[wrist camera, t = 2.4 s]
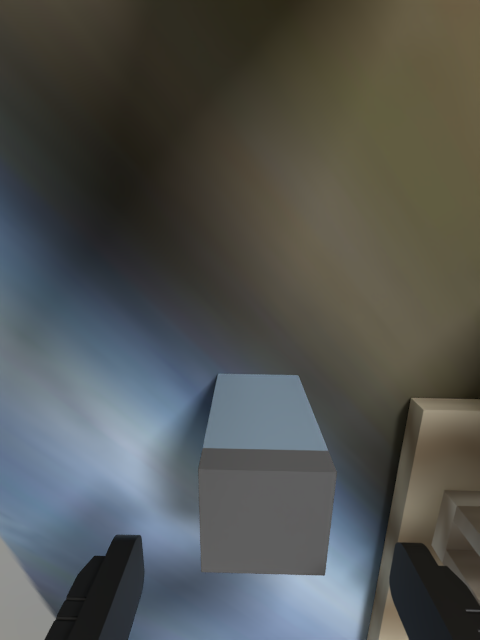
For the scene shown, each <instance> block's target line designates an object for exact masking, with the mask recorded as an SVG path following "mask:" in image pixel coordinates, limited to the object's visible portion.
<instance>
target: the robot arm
mask: <svg viewBox="0 0 480 640" xmlns="http://www.w3.org/2000/svg"><path fill="white" fill-rule="evenodd" d="M143 583H144V560H143V549H142V538H141V536H140V535H116V536H115V537H114V539H113V540H112V542H111V545H110V547H109V549H108V551H107V553H106V556H94V557H93V558H92V559H91V560H90V561H89V563H88V564H87V565H86V566H85V567H84V568H83V569H82V570H81V572H80V573H79V574H78V575H77V577H76V579H75V581H74V583H73V585H72V587H71V589H70V591H69V593H68V595H67V598H66V601H64V603H63V605H62V607H61V609H60V611H59V613H58V615H57V618H56V620H55V621H54V622H53V625H52V626H51V628H50V630H49V632H48V634H47V636H46V638H45V640H128V637H129V634H130V631H131V627H132V624H133V621H134V617H135V614H136V610H137V607H138V604H139V600H140V597H141V593H142V588H143ZM389 585H390V591H391V596H392V599H393V602H394V605H395V608H396V610H397V612H398V615H399V617H400V619H401V622H402V624H403V627H404V629H405V631H406V634H407V636H408V638H409V640H480V605H479V603H478V602H477V600H476V599H475V597H474V596H473V594H472V593H471V591H470V590H469V588H468V587H467V585H466V584H465V583H464V582H463V581H462V580H461V579H460V578H459V577H458V576H457V575H456V574H455V573H454V572H453V571H452V570H451V569H450V568H449V567H448V566H438V564H437V562H436V561H435V559H434V558H433V556H432V554H431V553H430V551H429V549H428V548H427V547H426V546H425V545H424V544H423V543H406V542H397V543H396V544H395V548H394V553H393V559H392V565H391V571H390V576H389Z"/></svg>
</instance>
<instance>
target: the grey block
mask: <svg viewBox="0 0 480 640" xmlns="http://www.w3.org/2000/svg"><path fill="white" fill-rule="evenodd" d="M336 476H337V472H336V469H335V467H334V464H333V462H332V459H331V457H330V454H329V452H328V449H327V447H326V444H325V441H324V439H323V436H322V434H321V431H320V429H319V426H318V424H317V421H316V419H315V416H314V414H313V411H312V409H311V406H310V404H309V401H308V399H307V396H306V394H305V391H304V389H303V386H302V384H301V381H300V379H299V376H298V375H253V374H218V376H217V381H216V386H215V391H214V395H213V400H212V405H211V410H210V415H209V420H208V424H207V429H206V434H205V439H204V444H203V449H202V454H201V458H200V463H199V468H198V478H199V512H200V545H201V572H218V573H255V574H291V575H325V569H326V561H327V552H328V544H329V535H330V527H331V518H332V510H333V501H334V493H335V484H336Z"/></svg>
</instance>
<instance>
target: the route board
mask: <svg viewBox="0 0 480 640" xmlns="http://www.w3.org/2000/svg"><path fill="white" fill-rule="evenodd" d="M397 542H406V543H423V544H424V545H425V546H426V547H427V548H428V549H429V551H430V553H431V554H432V556H433V558H434V559H435V561H436V562H437V564H438V566H448V567H449V568H450V569H451V570H452V571H453V572H454V573H455V574H456V575H457V576H458V577H459V578H460V579H461V580H462V581H463V582H464V583H465V584H466V585H467V587H468V588H469V590H470V591H471V593H472V594H473V596H474V597H475V599H476V600H477V602H478V603H479V605H480V399H445V398H411V401H410V406H409V412H408V417H407V423H406V428H405V434H404V439H403V445H402V450H401V456H400V461H399V467H398V472H397V478H396V483H395V489H394V494H393V500H392V505H391V510H390V516H389V521H388V527H387V532H386V538H385V543H384V549H383V554H382V560H381V565H380V571H379V576H378V582H377V587H376V593H375V598H374V604H373V609H372V615H371V620H370V626H369V631H368V637H367V640H409V638H408V636H407V634H406V631H405V629H404V627H403V624H402V622H401V619H400V617H399V615H398V612H397V610H396V608H395V605H394V602H393V599H392V596H391V591H390V585H389V576H390V571H391V565H392V559H393V553H394V548H395V544H396V543H397Z"/></svg>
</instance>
